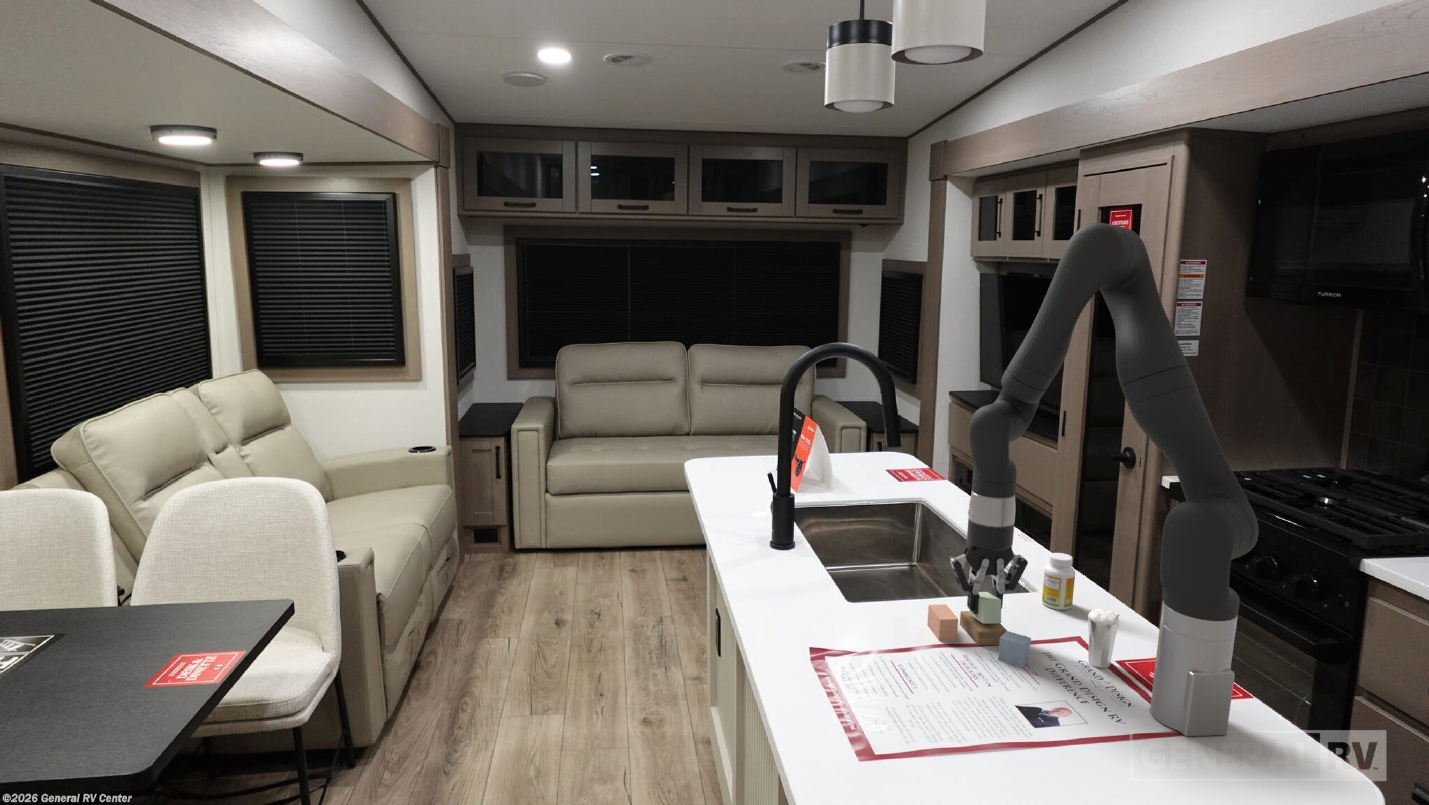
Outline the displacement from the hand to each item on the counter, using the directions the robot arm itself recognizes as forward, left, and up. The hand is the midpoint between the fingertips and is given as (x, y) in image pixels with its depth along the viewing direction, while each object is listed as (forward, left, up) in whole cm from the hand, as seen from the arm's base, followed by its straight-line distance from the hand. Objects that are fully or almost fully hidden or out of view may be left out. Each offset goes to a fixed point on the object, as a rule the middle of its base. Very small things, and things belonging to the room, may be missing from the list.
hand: (984, 611), depth 147 cm
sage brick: (-1, 0, -1) cm, 1 cm away
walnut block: (0, 0, -5) cm, 5 cm away
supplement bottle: (+11, -19, -4) cm, 22 cm away
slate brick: (-9, -1, -4) cm, 10 cm away
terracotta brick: (+1, +7, -4) cm, 8 cm away
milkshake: (-12, -15, -4) cm, 20 cm away
